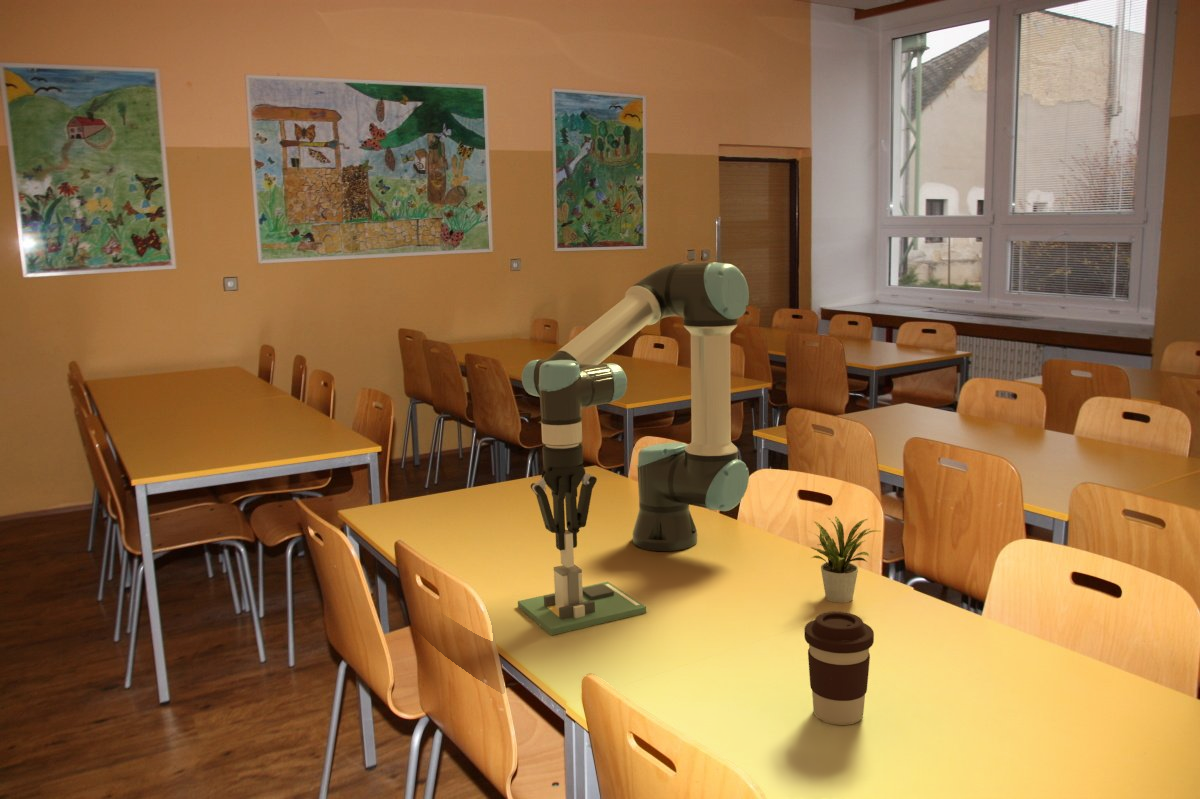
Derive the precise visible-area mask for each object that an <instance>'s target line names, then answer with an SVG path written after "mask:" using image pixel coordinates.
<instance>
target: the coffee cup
mask: <svg viewBox="0 0 1200 799" xmlns="http://www.w3.org/2000/svg"><path fill="white" fill-rule="evenodd" d="M803 632H804V640H805V641H806V643H807V644H808V649H807V655H808V658H807V660H808V670H809V671H808V672H809V674H808V675H809V684H810V689H811V691H812V692H811V693H812V694H811V695H812V707H813V714H814V715H815V716H816V717H817V719H819V720H821V721H822V722H825V723H826V724H827V723H828V724H832V725H836V726H849V725H853V724H855V723H858V722H859V721H861V720H862V718H863V716H864V712H865V698H866V693H867V690H868V685H869V684H868V682H869V671H870V660H871V659H870V658H871V654H870V648H871V647H872V646H873V645H874V640H875V634H874V633H875V632H874V630H873V628H872V626H870V625H868V624H867V623H865V622H864V620H863V619H862V618H861V617H860V616H858V615H856V614H853V613H850V612H847V611H846V612H845V611H838V610H836V611H835V610H834V611H833V610H832V611H826V612H822V613H819V614H818V615H817V616H816V617H815V619H814V620H813V619H812V620H811V621H809V622H808V623H806V624H805V626H804V631H803Z"/></svg>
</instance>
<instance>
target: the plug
mask: <svg viewBox="0 0 1200 799" xmlns="http://www.w3.org/2000/svg"><path fill="white" fill-rule="evenodd" d="M553 578H554V579H553V580H554V581H553V582H554V593H555V606H556V608H558V609H559V608H560V607H564V606H569V605H573V604H578V603H582V602H583V591H582V587H583V570H582V568H580V567H579V566H578V565H576V564H574V566H573V567H568V568H567V567H565V566H564V565H562V564H561V565H558V566H554V567H553Z"/></svg>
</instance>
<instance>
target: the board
mask: <svg viewBox="0 0 1200 799" xmlns="http://www.w3.org/2000/svg"><path fill="white" fill-rule="evenodd" d="M582 591H583V602H582V603H578V604H573V605H569V606H564V607H560V608H559V609H558V608H556V606H555V592H553V593H549V594H544V595H540V596H536V597H531V598H525V599H521V600H517V608H519V609H520V610H521V611H522V612H523V613H524V614H526V615H527V616H528V617H529V618H530V619H532V621H534V622H535V623H536V624H538V626H540V627H541V628H542V629H543V630H544V631H546V633H548V634H549V635H550V636H554V635H559V634H562V633H567V632H571V631H572V632H573V631H575V630H580V629H584V628H588V627H593V626H596V625H601V624H604V623H610V622H615V621H617V620H621V619H622V620H623V619H625V618H626V619H627V618H631V617H635V616H637V615H638V616H639V615H643V614H647V606H645V605H644V604H643V603H641V601H638V599H635V598H634V597H632V596H631V595H629V594H627V593H626V592H624V591H623V590H621V589H619V587H616V586H615V585H614V584H612V583H610V582H609V581H605V582H599V583H595V584H590V585H586V586H585V585H584V586H582Z"/></svg>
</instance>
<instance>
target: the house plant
mask: <svg viewBox="0 0 1200 799" xmlns="http://www.w3.org/2000/svg"><path fill="white" fill-rule="evenodd" d="M834 517H835V518H834V520H835V523H836V524H835V523H834V522H833V520H831V518H828V520H829V521H830V522H831V524H832V525H833V527H834V529H835V532H836V538H837V541H838V547H837V543H836V541H835V539H834V538H831V535H830V533H828V531H827V529H826V528H825V527H824V526H822V525H821V524H820V523H818V522H817V521H814V520H813V523H814V524H815V525H816V526H817V528H818V529H819V535H817V534H816V533H814V535H815V536H817V538H818V539H819V542H820V543H819V544H817V546H819V545H820V547H821V546H822V548H823V550H822V549H821V548H817V547H813V546H812V547H811V546H810V549H812V550H814V551H817V553H818V554H819V553H820V554H821V555H823V556H825V557H826V558H827V560H826V559H824V558H823V557H822V556H819V555H814V556H812V557H811V559H812V558H813V559H820V560H823V561H824V563H822V564H821V566H820V570H821V576H822V583H823V584H822V585H823V589H824V594H825V599H826V600H828V601H829V602H833V603H840V604H843V603H848V602H849V603H850V602H851V601H853V599H854V594H855V588H856V582H857V577H858V571H859V567H858V565H856V564H853V563H851V562H855V561H863V562H866V563H868V560H866V559H865V558H863V557H857V556H862V555H863V556H868V557H869V558H870V554H869V553H868V552H867V551H861V552H858V553H857V554H855V552H856V551H857V550H858V548H859V547H860V546H861V545H862V544H863V543H865V542H866V540H862V541H860V540H861V539H862V538H863V537H865V536H866V535H869V534H870V533H874V532H879V533H880V530H877V529H875V530H871V528H866V529H864V530H862V531H861V532H859V533H857V530H858V529H859V528H860V527H861V526H862V524H863V523H865V522H867V521H868V520H869V518H866V519H863V520H860V521H858V522H857V523H856V524H855V525H854V526H853V527H852V528H851V530H850V532H849V534H848V535H847V539H846V541H845V534H844V532H845V531H844V526H843V523H842V522H841V520H840V519H839V518H838V516H836V515H835V516H834ZM807 532H809V533H811V531H808V530H807ZM859 541H860V542H859ZM838 548H839V549H838ZM854 554H855V555H854ZM853 555H854V556H853Z"/></svg>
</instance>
